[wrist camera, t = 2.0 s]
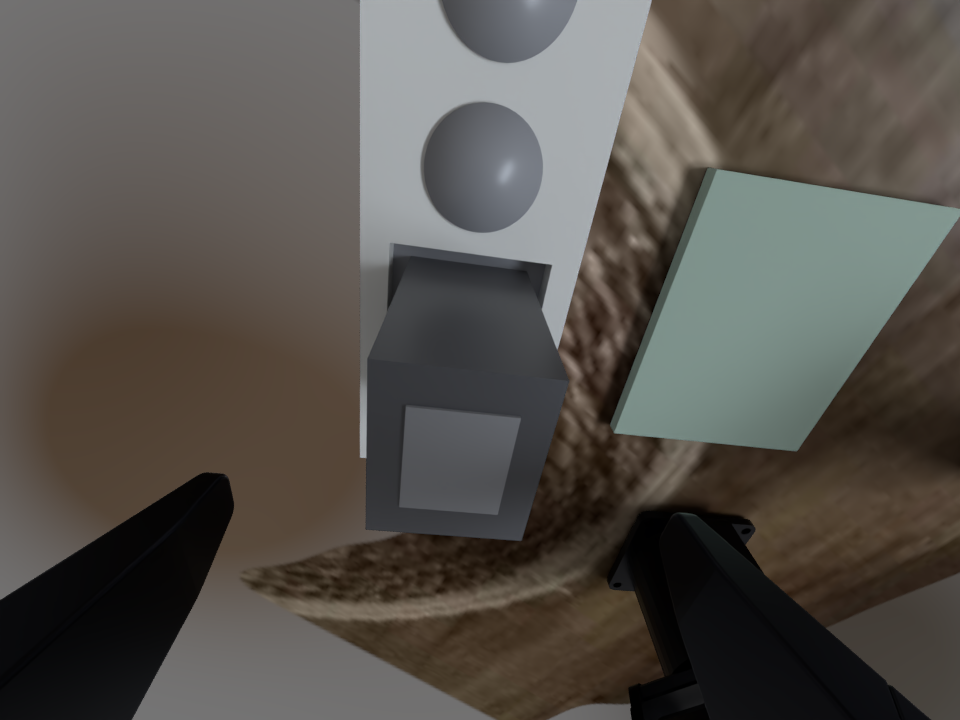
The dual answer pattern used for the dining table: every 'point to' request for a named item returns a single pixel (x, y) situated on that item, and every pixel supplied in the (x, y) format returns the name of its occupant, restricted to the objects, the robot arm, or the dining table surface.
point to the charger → (460, 402)
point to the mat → (771, 308)
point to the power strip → (486, 140)
